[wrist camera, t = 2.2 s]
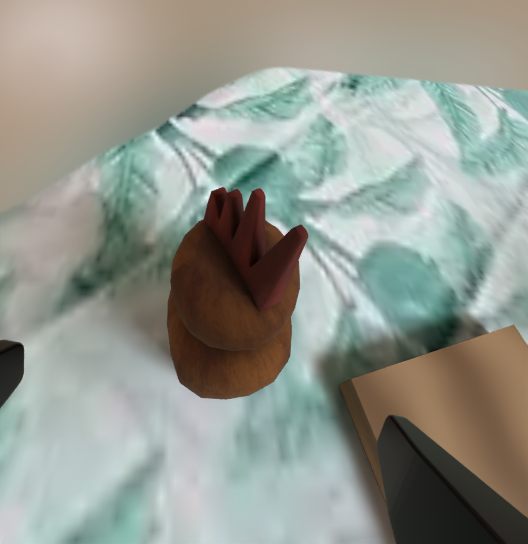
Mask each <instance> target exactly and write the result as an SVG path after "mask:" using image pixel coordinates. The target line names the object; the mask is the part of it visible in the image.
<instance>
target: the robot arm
mask: <svg viewBox="0 0 528 544" xmlns="http://www.w3.org/2000/svg"><path fill="white" fill-rule="evenodd" d="M23 374H24V346H23V345H22V344H21V343H19V342H14V341H9V340H0V408H1V407H2V406H3V404H4V403H5V402H6V400H7V399H8V398H9V397H10V395H11V394H12V393H13V391H14V390H15V389H16V387H17V386H18V385H19V383H20V382H21V380H22V378H23ZM377 455H378V460H379V466H380V472H381V477H382V483H383V488H384V494H385V499H386V505H387V509H388V514H389V518H390V522H391V526H392V530H393V533H394V537H395V540H396V544H528V518H527V517H526V516H525V515H524V514H522V513H521V512H520V511H519V510H517V509H516V508H515V507H514V506H513V505H511V504H510V503H509V502H508V501H507V500H505V499H504V498H503V497H502V496H500V495H499V494H498V493H497V492H496V491H494V490H493V489H492V488H491V487H489V486H488V485H487V484H486V483H485V482H483V481H482V480H481V479H480V478H479V477H477V476H476V475H475V474H474V473H472V472H471V471H470V470H469V469H468V468H466V467H465V466H464V465H463V464H462V463H460V462H459V461H458V460H457V459H455V458H454V457H453V456H452V455H451V454H449V453H448V452H447V451H446V450H445V449H443V448H442V447H441V446H440V445H438V444H437V443H436V442H435V441H434V440H432V439H431V438H430V437H429V436H427V435H426V434H425V433H424V432H423V431H421V430H420V429H419V428H418V427H417V426H415V425H414V424H413V423H412V422H410V421H409V420H408V419H407V418H405V417H402V416H396V415H388V416H387V417H386V419H385V421H384V424H383V427H382V429H381V432H380V434H379V437H378V440H377Z"/></svg>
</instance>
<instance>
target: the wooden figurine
mask: <svg viewBox="0 0 528 544" xmlns="http://www.w3.org/2000/svg"><path fill="white" fill-rule="evenodd" d="M307 239H308V233H307V231H306V229H305V228H304V227H303V226H302V225H299V226H297V227H294V228H292V229H291V230H290V231H289V232H288V233H287V234H286V235H285V236H284V235H283V234H282V233H281V232H280V231H279V229H278V228H276V227H275V226H273V225H271V224H270V223H268V222H267V221H266V220H265V194H264V192H263V191H262V189H261V188H259V189H256V190H254V191H252V193H251V195H250V198H249V201H248V203H247V206H246V208H245V211H244V209H243V200H242V194H241V193H240V191H239V190H238V189H236V190H234V191H231V192H228V193H227V192H226V189H225V188H224V187H222V188H219V189H216V190H214V191H211V194H210V197H209V201H208V204H207V208H206V212H205V217H204V219H203V220H201V221H199V222H198V223H197V224H196V225H195V226H194V227H193V228H192V229H191V230H190V231H189V232H188V233H187V234H186V235H185V236H184V238H183V240H182V242H181V244H180V246H179V248H178V250H177V252H176V255H175V257H174V259H173V264H172V272H171V281H170V282H171V291H170V295H169V299H168V315H167V327H168V333H169V342H170V350H171V356H172V360H173V363H174V366H175V369H176V373H177V376H178V379H179V382H180V383H181V384H182V385H184V386H185V387H186V388H188V389H189V390H191V391H192V392H194V393H195V394H196V395H198V396H199V397H201V398H212V399H231V398H237V397H243V396H249V395H251V394H253V393H254V392H256V391H258V390H260V389H262V388H264V387H265V386H267V385H269V384H271V383H272V382H274V380H275V379H276V378H277V376H278V375H279V373H280V372H281V370H282V369H283V367H284V366H285V365H286V363H287V362H288V359H289V357H290V351H291V335H292V325H291V315H292V313H293V311H294V309H295V305H296V301H297V297H298V294H299V290H300V274H299V261H298V260H299V257H300V255H301V253H302V250H303V248H304V246H305V243H306V241H307Z"/></svg>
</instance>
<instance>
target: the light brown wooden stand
mask: <svg viewBox="0 0 528 544" xmlns="http://www.w3.org/2000/svg"><path fill="white" fill-rule="evenodd" d="M339 386H340V389H341V391H342V394H343V396H344V399H345V402H346V404H347V407H348V409H349V412H350V414H351V417H352V419H353V422H354V424H355V427H356V429H357V432H358V434H359V437H360V439H361V442H362V445H363V447H364V450H365V452H366V455H367V457H368V460H369V462H370V465H371V467H372V470H373V472H374V475H375V477H376V480H377V483H378V485H379V488H380V490H381V493H382V495H383V498H384V500H385V503H386V499H385V494H384V488H383V483H382V477H381V472H380V466H379V460H378V455H377V440H378V437H379V434H380V432H381V429H382V427H383V424H384V421H385V419H386V417H387V416H388V415H396V416H402V417H405V418H407V419H408V420H409V421H410V422H412V423H413V424H414V425H415V426H417V427H418V428H419V429H420V430H421V431H423V432H424V433H425V434H426V435H427V436H429V437H430V438H431V439H432V440H434V441H435V442H436V443H437V444H438V445H440V446H441V447H442V448H443V449H445V450H446V451H447V452H448V453H449V454H451V455H452V456H453V457H454V458H455V459H457V460H458V461H459V462H460V463H462V464H463V465H464V466H465V467H466V468H468V469H469V470H470V471H471V472H472V473H474V474H475V475H476V476H477V477H479V478H480V479H481V480H482V481H483V482H485V483H486V484H487V485H488V486H489V487H491V488H492V489H493V490H494V491H496V492H497V493H498V494H499V495H500V496H502V497H503V498H504V499H505V500H507V501H508V502H509V503H510V504H511V505H513V506H514V507H515V508H516V509H517V510H519V511H520V512H521V513H522V514H524V515H525V516H526V517H527V518H528V346H527V344H526V342H525V341H524V339H523V338H522V336H521V335H520V333H519V332H518V330H517V329H516V327H515V326H514V325H512V326H509V327H506V328H503V329H500V330H497V331H494V332H491V333H488V334H485V335H482V336H479V337H476V338H473V339H470V340H467V341H464V342H461V343H458V344H455V345H452V346H449V347H446V348H443V349H440V350H437V351H434V352H431V353H428V354H425V355H422V356H419V357H416V358H413V359H410V360H406V361H403V362H400V363H397V364H394V365H391V366H388V367H385V368H382V369H379V370H376V371H373V372H370V373H367V374H364V375H361V376H358V377H355V378H352V379H350V380H348V381H346V382H344V383H342V384H340V385H339Z"/></svg>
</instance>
